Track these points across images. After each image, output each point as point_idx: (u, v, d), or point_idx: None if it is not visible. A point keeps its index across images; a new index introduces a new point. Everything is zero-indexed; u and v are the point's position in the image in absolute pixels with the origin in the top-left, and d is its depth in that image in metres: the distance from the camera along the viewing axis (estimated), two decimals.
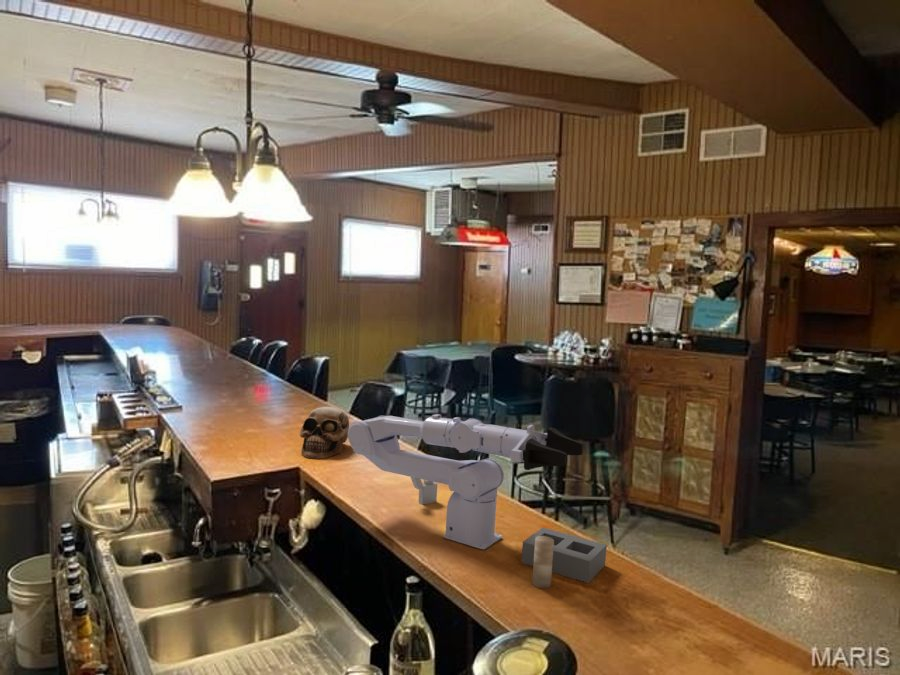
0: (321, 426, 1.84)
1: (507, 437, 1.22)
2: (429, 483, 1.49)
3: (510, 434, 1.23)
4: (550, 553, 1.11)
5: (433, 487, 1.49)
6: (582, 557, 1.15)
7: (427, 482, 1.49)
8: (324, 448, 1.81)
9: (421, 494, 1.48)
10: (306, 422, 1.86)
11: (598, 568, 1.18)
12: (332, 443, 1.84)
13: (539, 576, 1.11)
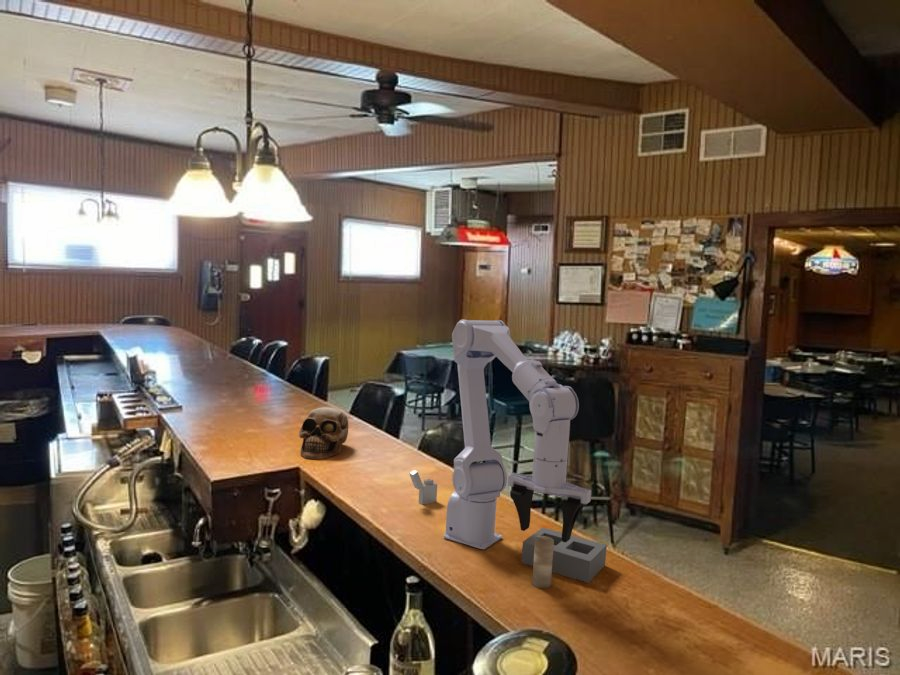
0: (320, 426, 1.83)
1: (533, 462, 1.10)
2: (429, 483, 1.49)
3: (534, 466, 1.10)
4: (550, 553, 1.11)
5: (433, 487, 1.49)
6: (582, 557, 1.15)
7: (427, 482, 1.49)
8: (324, 449, 1.81)
9: (421, 494, 1.48)
10: (305, 422, 1.85)
11: (598, 568, 1.18)
12: (331, 444, 1.84)
13: (539, 576, 1.11)
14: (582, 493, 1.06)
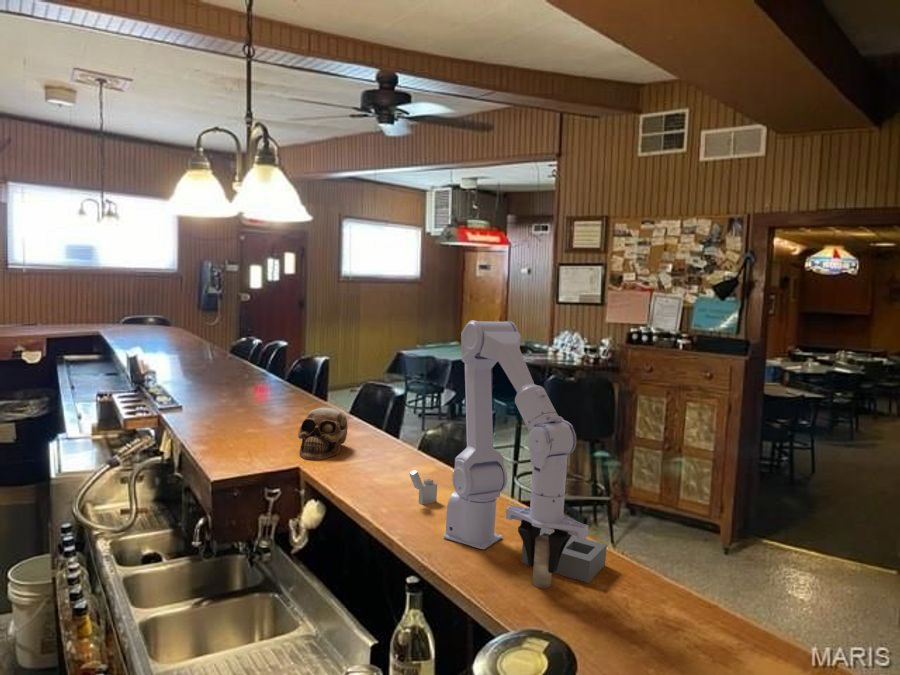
0: (319, 427, 1.82)
1: (531, 497, 1.11)
2: (429, 483, 1.49)
3: (532, 500, 1.10)
4: None
5: (433, 487, 1.49)
6: (582, 557, 1.15)
7: (427, 482, 1.49)
8: (323, 449, 1.80)
9: (421, 494, 1.48)
10: (304, 423, 1.85)
11: (598, 568, 1.18)
12: (330, 444, 1.83)
13: (539, 576, 1.11)
14: (579, 528, 1.07)
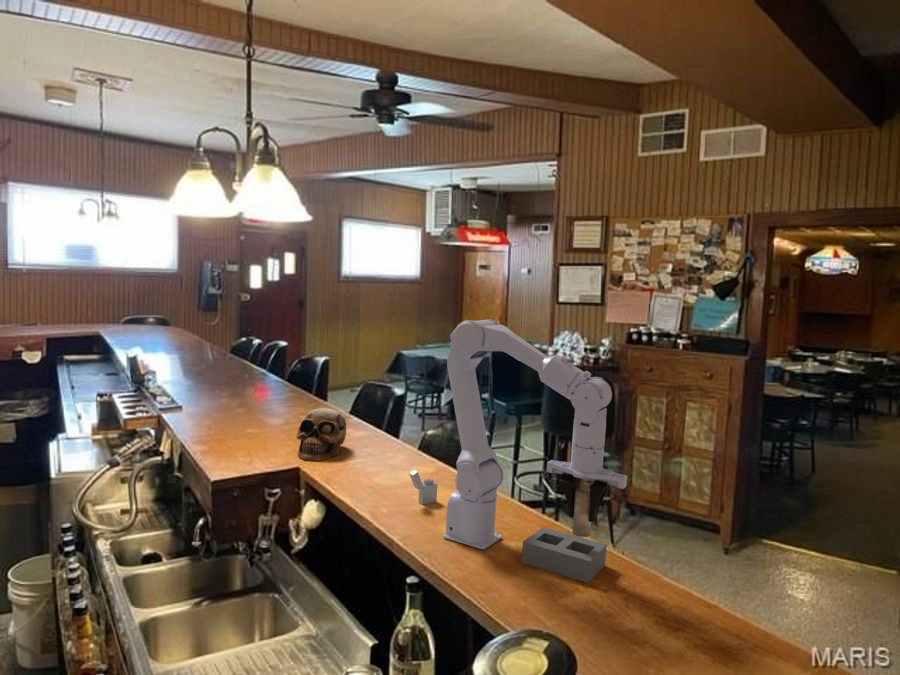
0: (318, 428, 1.81)
1: (572, 450, 1.17)
2: (429, 483, 1.49)
3: (573, 453, 1.16)
4: None
5: (433, 487, 1.49)
6: (582, 557, 1.15)
7: (427, 482, 1.49)
8: (321, 450, 1.79)
9: (421, 494, 1.48)
10: (303, 424, 1.84)
11: (598, 568, 1.18)
12: (329, 445, 1.82)
13: (579, 525, 1.17)
14: (619, 478, 1.13)
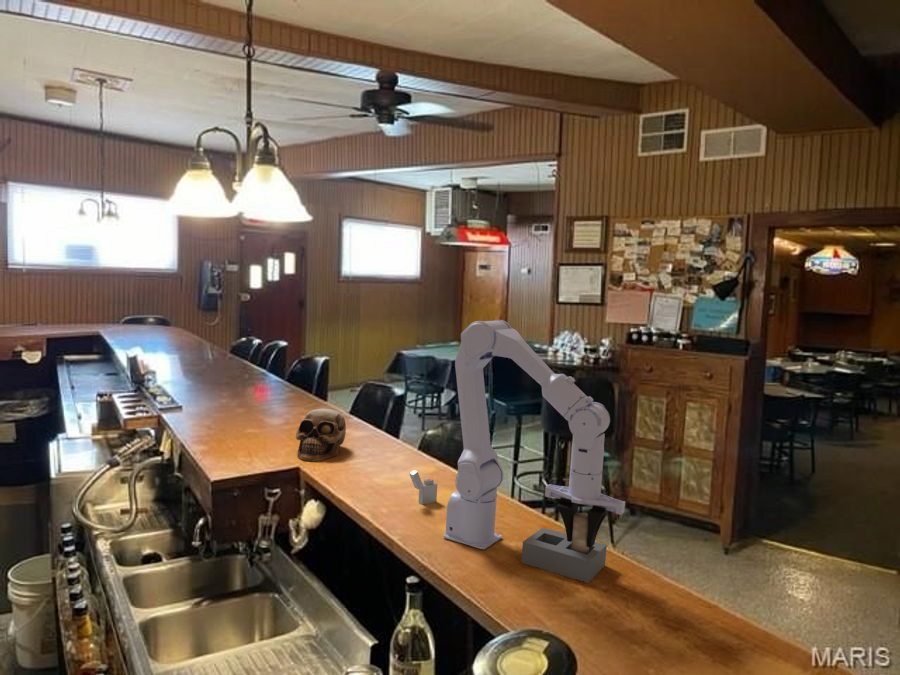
0: (317, 428, 1.81)
1: (570, 475, 1.17)
2: (429, 483, 1.49)
3: (571, 478, 1.17)
4: None
5: (433, 487, 1.49)
6: (582, 557, 1.15)
7: (427, 482, 1.49)
8: (321, 451, 1.79)
9: (421, 494, 1.48)
10: (302, 424, 1.83)
11: (598, 568, 1.18)
12: (328, 445, 1.82)
13: (577, 550, 1.17)
14: (617, 504, 1.14)
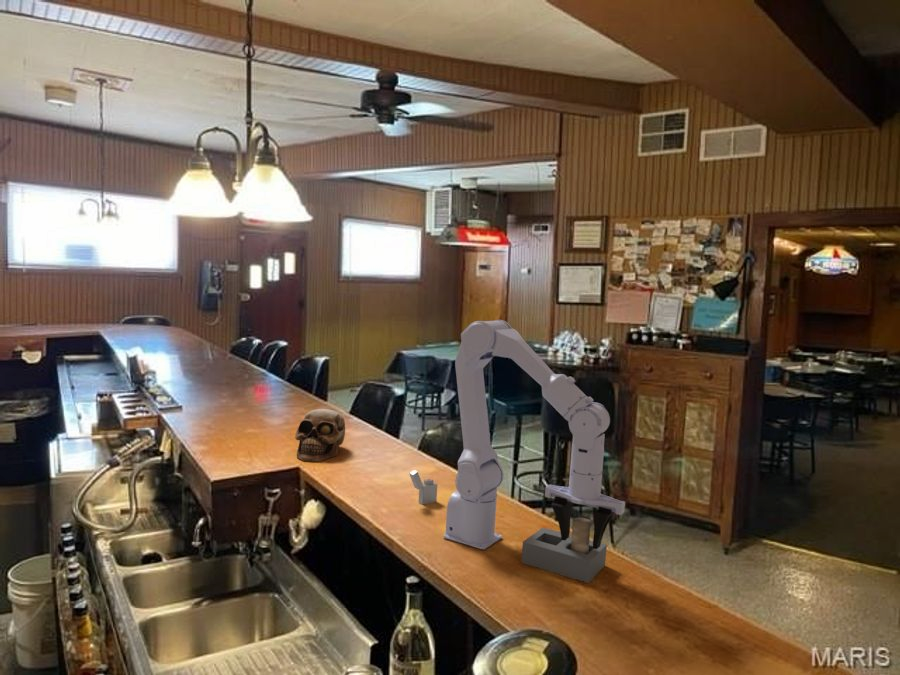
0: (317, 428, 1.81)
1: (570, 475, 1.17)
2: (429, 483, 1.49)
3: (571, 478, 1.17)
4: (588, 533, 1.18)
5: (433, 487, 1.49)
6: (582, 557, 1.15)
7: (427, 482, 1.49)
8: (320, 451, 1.78)
9: (421, 494, 1.48)
10: (301, 424, 1.83)
11: (598, 568, 1.18)
12: (328, 446, 1.81)
13: None
14: (617, 504, 1.14)
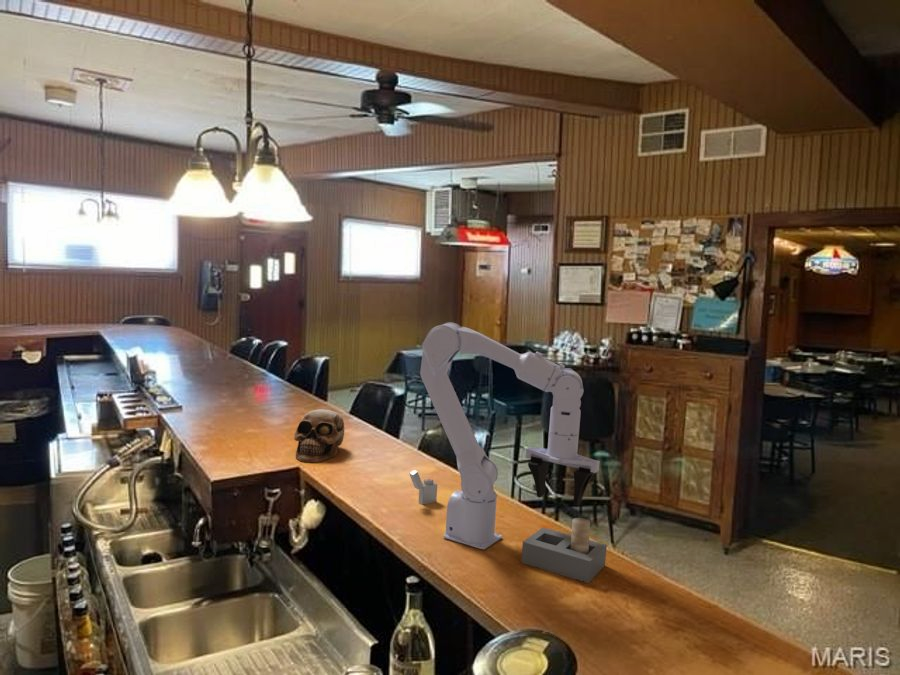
0: (316, 429, 1.80)
1: (549, 436, 1.25)
2: (429, 483, 1.49)
3: (550, 439, 1.24)
4: (587, 533, 1.17)
5: (433, 487, 1.49)
6: (582, 557, 1.15)
7: (427, 482, 1.49)
8: (319, 452, 1.77)
9: (421, 494, 1.48)
10: (300, 425, 1.82)
11: (598, 568, 1.18)
12: (327, 446, 1.81)
13: None
14: (591, 463, 1.21)
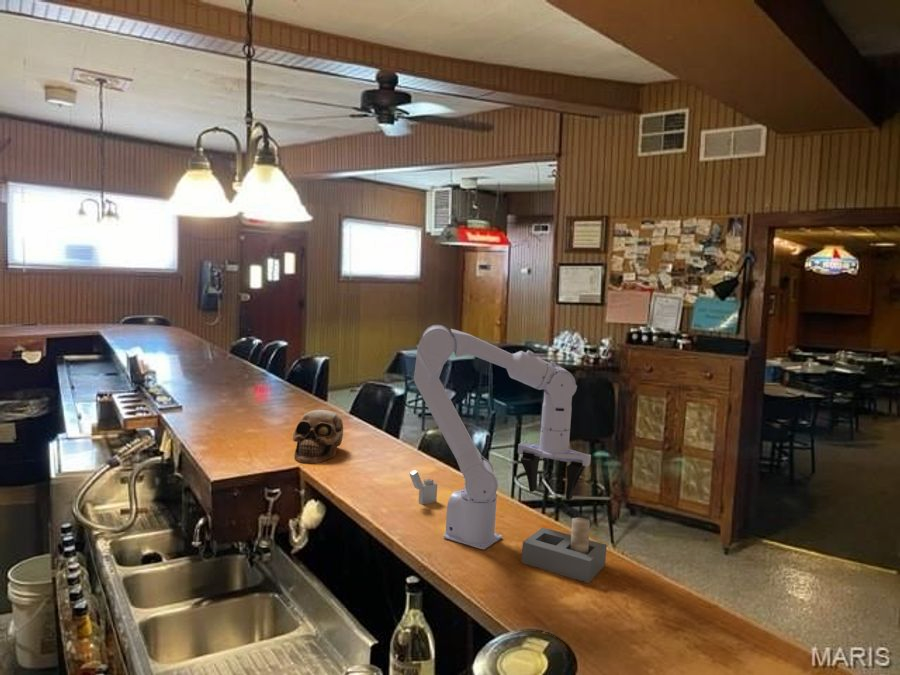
0: (315, 430, 1.79)
1: (541, 432, 1.28)
2: (429, 483, 1.49)
3: (542, 435, 1.27)
4: (587, 532, 1.18)
5: (433, 487, 1.49)
6: (582, 557, 1.15)
7: (427, 482, 1.49)
8: (318, 452, 1.77)
9: (421, 494, 1.48)
10: (299, 426, 1.81)
11: (598, 568, 1.18)
12: (326, 447, 1.80)
13: None
14: (584, 457, 1.25)
